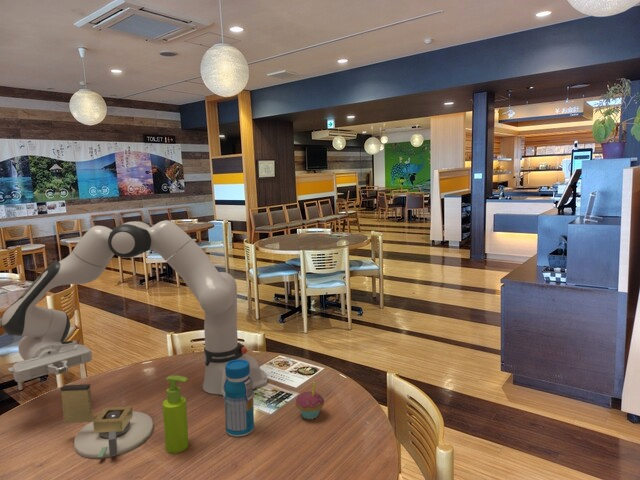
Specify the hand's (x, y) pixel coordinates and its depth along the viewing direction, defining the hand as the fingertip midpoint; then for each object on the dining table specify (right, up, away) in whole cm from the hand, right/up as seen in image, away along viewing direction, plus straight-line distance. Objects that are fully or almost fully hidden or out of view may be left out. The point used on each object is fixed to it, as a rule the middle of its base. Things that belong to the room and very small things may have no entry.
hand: (62, 370), depth 123 cm
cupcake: (+71, -16, +7) cm, 73 cm away
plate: (+16, -18, -3) cm, 24 cm away
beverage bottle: (+51, -17, 0) cm, 54 cm away
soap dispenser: (+36, -18, -8) cm, 41 cm away
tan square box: (+16, -16, -3) cm, 23 cm away
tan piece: (+12, -14, -3) cm, 19 cm away
